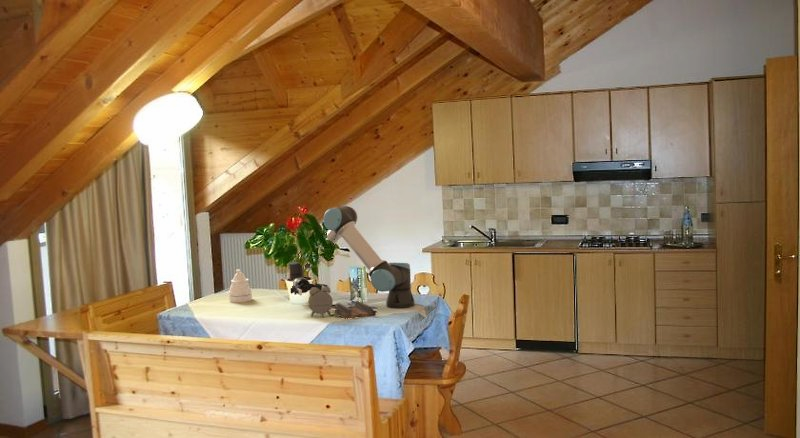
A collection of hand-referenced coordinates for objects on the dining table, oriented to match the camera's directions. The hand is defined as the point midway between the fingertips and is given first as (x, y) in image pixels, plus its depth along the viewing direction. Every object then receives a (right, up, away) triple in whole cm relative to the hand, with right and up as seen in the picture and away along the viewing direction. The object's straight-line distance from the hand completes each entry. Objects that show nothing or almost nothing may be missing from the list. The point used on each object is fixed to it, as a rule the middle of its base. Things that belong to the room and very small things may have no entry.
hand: (313, 291), depth 355 cm
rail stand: (+21, -11, -5) cm, 24 cm away
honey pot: (-48, -10, +43) cm, 65 cm away
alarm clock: (+5, -12, -8) cm, 15 cm away
